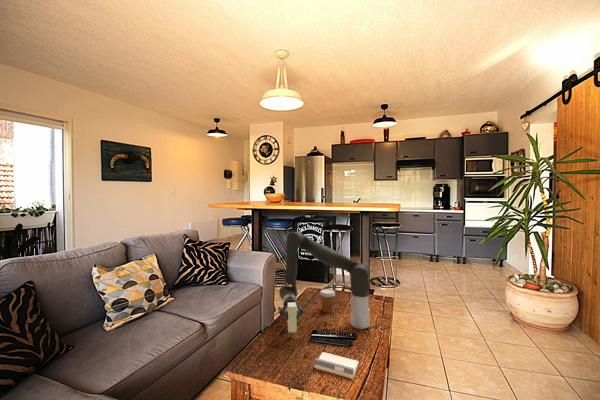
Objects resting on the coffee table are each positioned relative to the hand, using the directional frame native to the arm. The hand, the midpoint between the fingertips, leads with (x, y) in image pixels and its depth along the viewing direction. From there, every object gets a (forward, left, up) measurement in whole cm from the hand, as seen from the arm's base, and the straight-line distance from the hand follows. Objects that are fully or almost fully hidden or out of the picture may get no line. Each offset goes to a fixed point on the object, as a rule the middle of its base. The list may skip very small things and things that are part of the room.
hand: (292, 317), depth 130 cm
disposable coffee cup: (-28, -37, -14) cm, 48 cm away
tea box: (0, -3, -7) cm, 8 cm away
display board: (-16, +18, -14) cm, 28 cm away
